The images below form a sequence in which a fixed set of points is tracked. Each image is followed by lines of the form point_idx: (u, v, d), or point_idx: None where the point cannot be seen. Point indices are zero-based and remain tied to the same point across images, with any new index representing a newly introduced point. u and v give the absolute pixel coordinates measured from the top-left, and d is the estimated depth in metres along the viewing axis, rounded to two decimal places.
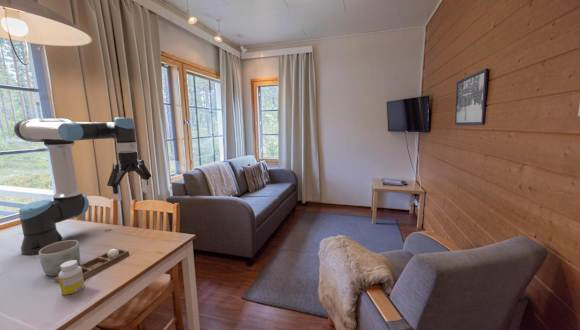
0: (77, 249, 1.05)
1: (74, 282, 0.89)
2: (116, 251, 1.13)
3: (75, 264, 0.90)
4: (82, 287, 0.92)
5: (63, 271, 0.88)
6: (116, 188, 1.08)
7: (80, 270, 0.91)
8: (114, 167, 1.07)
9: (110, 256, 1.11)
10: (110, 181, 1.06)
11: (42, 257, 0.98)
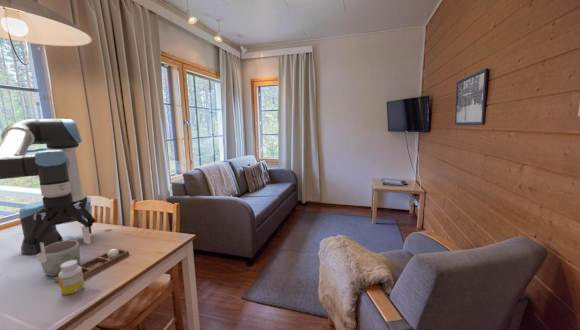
0: (77, 249, 1.05)
1: (74, 282, 0.89)
2: (116, 251, 1.13)
3: (75, 264, 0.90)
4: (82, 287, 0.92)
5: (63, 271, 0.88)
6: (37, 246, 0.80)
7: (80, 270, 0.91)
8: (34, 218, 0.80)
9: (110, 256, 1.11)
10: (27, 238, 0.78)
11: None
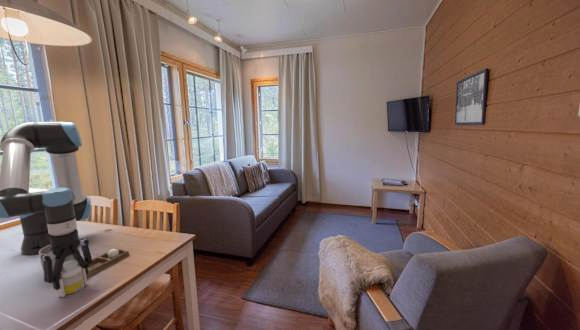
0: None
1: (74, 282, 0.89)
2: (116, 251, 1.13)
3: (75, 264, 0.90)
4: (82, 287, 0.92)
5: (63, 271, 0.88)
6: (57, 283, 0.86)
7: (80, 270, 0.91)
8: (44, 260, 0.83)
9: (110, 256, 1.11)
10: (46, 277, 0.83)
11: None
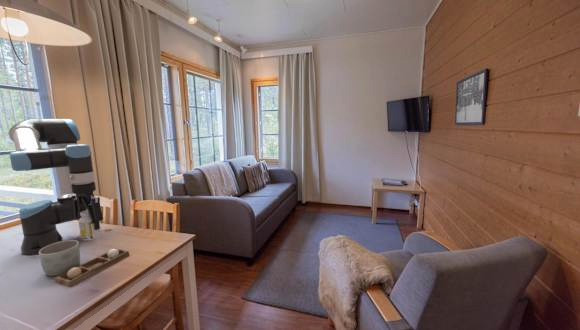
0: (77, 249, 1.05)
1: None
2: (116, 251, 1.13)
3: (83, 214, 1.00)
4: (85, 237, 1.00)
5: None
6: None
7: (84, 222, 0.99)
8: None
9: (110, 256, 1.11)
10: None
11: (42, 257, 0.98)
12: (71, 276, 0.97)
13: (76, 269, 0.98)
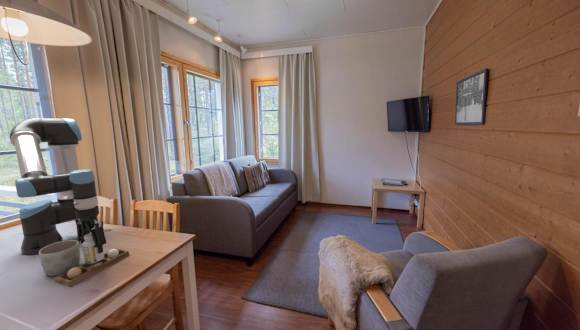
0: (77, 249, 1.05)
1: (83, 252, 1.02)
2: (116, 251, 1.13)
3: (86, 238, 1.01)
4: (89, 261, 1.02)
5: None
6: None
7: (88, 246, 1.01)
8: None
9: (110, 256, 1.11)
10: None
11: (42, 257, 0.98)
12: (71, 276, 0.97)
13: (76, 269, 0.98)
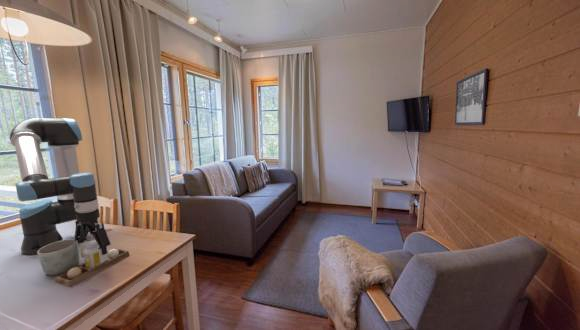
0: (76, 248, 1.06)
1: (84, 259, 1.03)
2: (116, 251, 1.13)
3: (87, 246, 1.02)
4: (90, 268, 1.03)
5: None
6: None
7: (89, 253, 1.02)
8: None
9: (110, 256, 1.11)
10: None
11: (41, 257, 0.98)
12: (71, 276, 0.97)
13: (76, 269, 0.98)
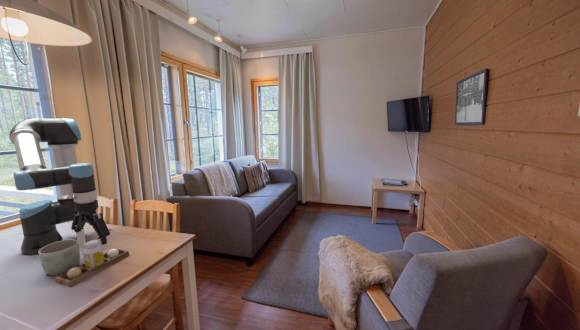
0: (77, 248, 1.06)
1: (84, 259, 1.03)
2: (116, 251, 1.13)
3: (87, 246, 1.02)
4: (90, 268, 1.03)
5: None
6: None
7: (89, 253, 1.02)
8: None
9: (110, 256, 1.11)
10: None
11: (43, 257, 0.98)
12: (71, 276, 0.97)
13: (76, 269, 0.98)
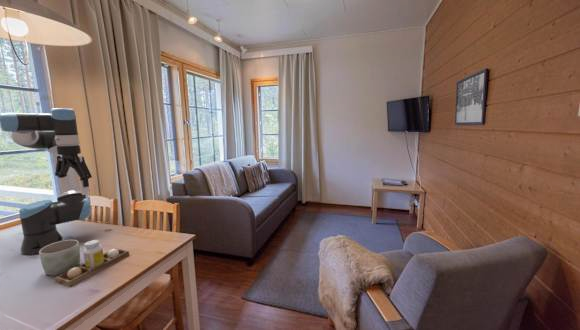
0: (78, 248, 1.06)
1: (84, 259, 1.03)
2: (116, 251, 1.13)
3: (87, 246, 1.02)
4: (90, 268, 1.03)
5: None
6: None
7: (89, 253, 1.02)
8: None
9: (110, 256, 1.11)
10: None
11: (43, 257, 0.98)
12: (71, 276, 0.97)
13: (76, 269, 0.98)
